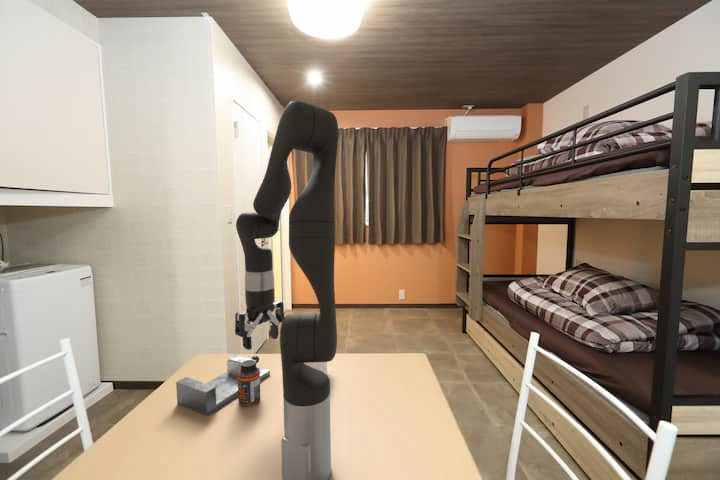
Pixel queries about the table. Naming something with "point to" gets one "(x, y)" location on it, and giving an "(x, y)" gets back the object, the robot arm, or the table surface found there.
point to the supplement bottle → (248, 383)
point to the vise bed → (209, 392)
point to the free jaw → (237, 363)
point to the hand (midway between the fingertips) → (261, 343)
